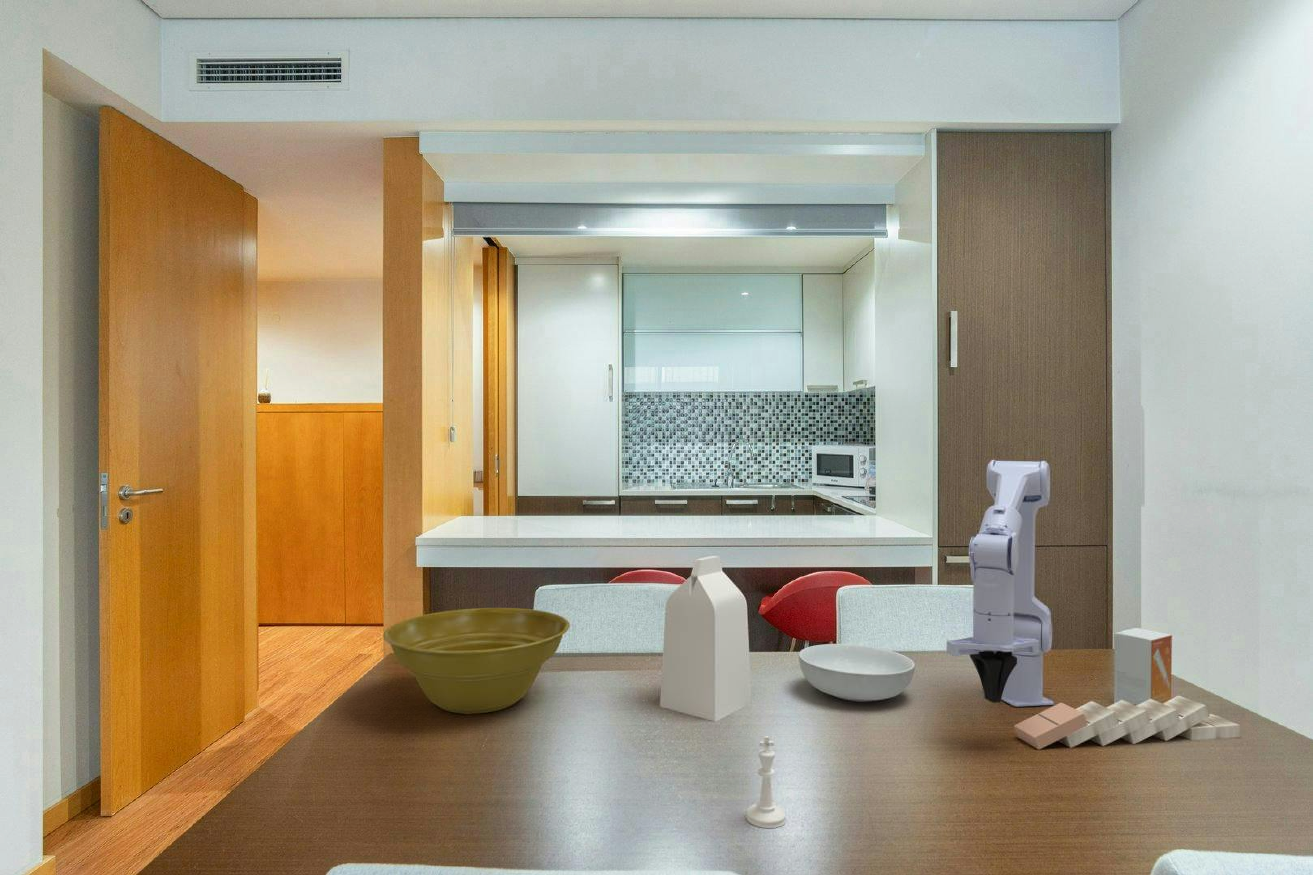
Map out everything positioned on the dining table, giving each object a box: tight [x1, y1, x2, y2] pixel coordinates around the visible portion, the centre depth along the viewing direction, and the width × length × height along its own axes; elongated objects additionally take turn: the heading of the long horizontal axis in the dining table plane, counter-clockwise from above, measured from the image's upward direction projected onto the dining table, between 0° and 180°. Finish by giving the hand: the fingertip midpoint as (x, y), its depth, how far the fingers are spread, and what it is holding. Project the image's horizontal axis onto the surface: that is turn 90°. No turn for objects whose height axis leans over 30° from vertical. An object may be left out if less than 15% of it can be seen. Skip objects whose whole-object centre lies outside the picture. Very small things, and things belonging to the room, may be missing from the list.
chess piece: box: [745, 735, 787, 829], centre depth 92 cm, size 5×5×10 cm
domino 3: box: [1119, 699, 1180, 745], centre depth 120 cm, size 5×2×9 cm
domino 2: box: [1089, 700, 1150, 747], centre depth 119 cm, size 5×2×9 cm
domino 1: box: [1057, 700, 1119, 749], centre depth 118 cm, size 5×2×9 cm
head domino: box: [1013, 701, 1088, 750], centre depth 118 cm, size 5×2×9 cm
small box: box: [1113, 627, 1173, 706], centre depth 135 cm, size 8×6×13 cm
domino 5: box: [1177, 713, 1241, 741], centre depth 122 cm, size 5×2×9 cm
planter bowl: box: [382, 607, 571, 715], centre depth 134 cm, size 32×32×13 cm
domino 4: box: [1152, 695, 1210, 742], centre depth 122 cm, size 5×2×9 cm
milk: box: [659, 555, 752, 722], centre depth 133 cm, size 12×12×26 cm
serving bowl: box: [798, 643, 916, 703], centre depth 140 cm, size 21×21×7 cm
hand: (992, 700), depth 116 cm, fingers closed
